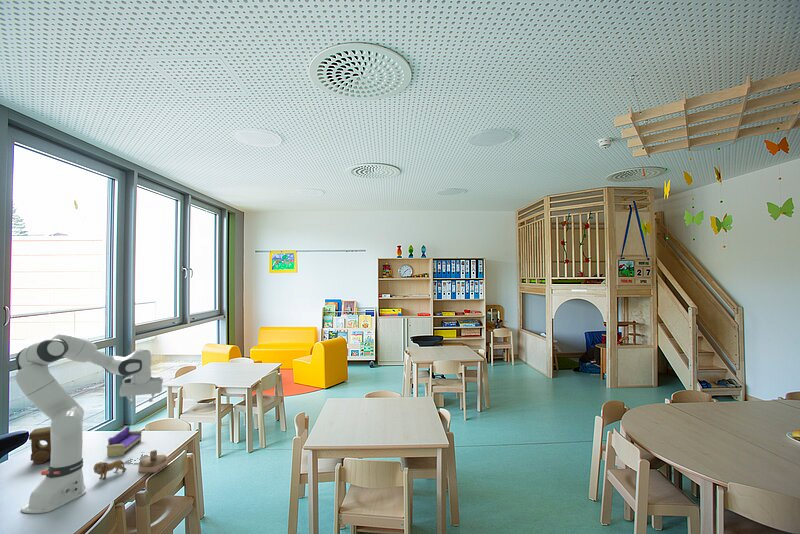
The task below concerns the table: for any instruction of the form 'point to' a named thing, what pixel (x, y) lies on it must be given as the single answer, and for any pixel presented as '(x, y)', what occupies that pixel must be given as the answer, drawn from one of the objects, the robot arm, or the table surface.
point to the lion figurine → (108, 467)
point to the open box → (152, 468)
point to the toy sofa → (122, 441)
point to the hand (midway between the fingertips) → (141, 402)
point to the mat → (135, 460)
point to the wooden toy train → (40, 445)
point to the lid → (153, 459)
